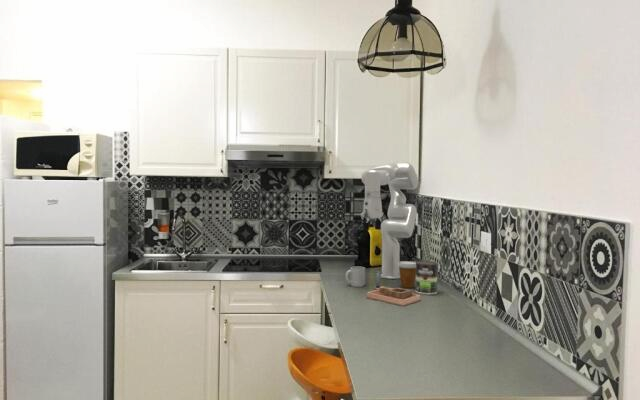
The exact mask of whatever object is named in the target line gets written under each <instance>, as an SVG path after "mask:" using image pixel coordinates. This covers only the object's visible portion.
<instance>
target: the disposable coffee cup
mask: <svg viewBox="0 0 640 400" xmlns="http://www.w3.org/2000/svg"><path fill="white" fill-rule="evenodd" d="M416 262H417V261H412V260H411V261H410V260H409V261H408V260H407V261H406V260H404V261H402V260H401V261H399V264H398V266H399V270H400V278H399V280H400V285H401V286H400V287H401V288H404V289H407V288H408V289H411V288H414V287H415V283H416Z"/></svg>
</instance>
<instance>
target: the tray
mask: <svg viewBox="0 0 640 400" xmlns="http://www.w3.org/2000/svg"><path fill="white" fill-rule="evenodd" d="M366 299H369V300H373V301H374V300H375V301H378V302H382V303H388V304H392V305H396V306H401V307H405V306H408V305H411V304H414V303H417V302H419V301H421V294H419V293H417V294H416V293H413V292H412V297H410V298H407V299H404V300H402V299H397V298H392V297H388V296H383V295H379V289H378V290H376V289H374V290H372V291H368V292H366Z"/></svg>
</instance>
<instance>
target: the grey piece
mask: <svg viewBox="0 0 640 400" xmlns="http://www.w3.org/2000/svg"><path fill="white" fill-rule="evenodd" d="M375 273H376V275H375V286H374V287H373V290H378V289H379V287H382V285H381V279H382V277H381V274H382V271H375Z"/></svg>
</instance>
